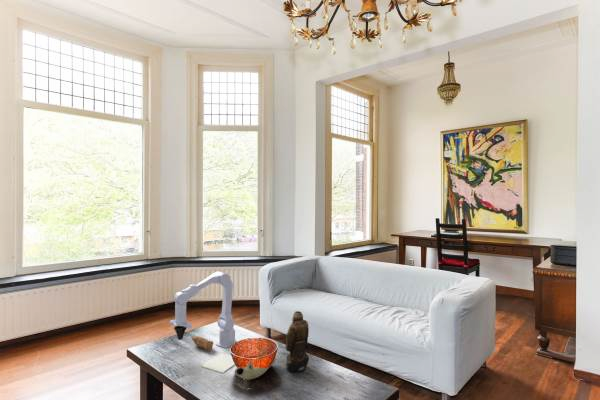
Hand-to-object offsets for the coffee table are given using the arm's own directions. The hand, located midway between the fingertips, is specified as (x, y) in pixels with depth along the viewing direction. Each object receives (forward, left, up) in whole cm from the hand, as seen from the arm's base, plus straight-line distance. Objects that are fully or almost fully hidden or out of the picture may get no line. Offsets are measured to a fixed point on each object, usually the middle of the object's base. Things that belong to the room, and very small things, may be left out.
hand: (180, 339), depth 189 cm
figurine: (-14, +9, -5) cm, 17 cm away
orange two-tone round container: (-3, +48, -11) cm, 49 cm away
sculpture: (-20, +61, -11) cm, 65 cm away
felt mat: (-6, +24, -10) cm, 27 cm away
